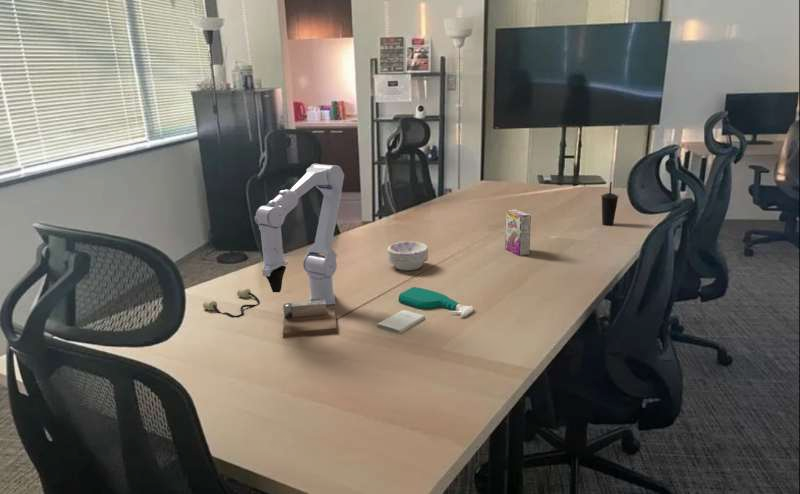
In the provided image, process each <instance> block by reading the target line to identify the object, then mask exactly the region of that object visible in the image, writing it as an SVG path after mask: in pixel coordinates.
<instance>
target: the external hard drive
mask: <svg viewBox="0 0 800 494" xmlns="http://www.w3.org/2000/svg"><path fill="white" fill-rule="evenodd" d="M425 318H426V316H425V315H424V314H421V313H416V312H413V311H409V310H405V309H402V310H400V311H399V312H397V313H395V314H393V315H391V316H390V317H387V318H385V319H384V320H382V321H380V322H378V323H377V324H376V327H377V328H380V329H384V330H387V331H390V332H393V333H396V334H401V333H403V332H404V331H407V330H408V329H410V328H411V327H414V325H416V324H418V323H419V322H422V321H423V320H425Z"/></svg>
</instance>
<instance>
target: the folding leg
mask: <svg viewBox="0 0 800 494" xmlns="http://www.w3.org/2000/svg"><path fill="white" fill-rule="evenodd" d="M282 306H283V307H282V308H283V309H282V310H283V318H284V317H285V318H291V317H304V316H316V315H327V312H326V308H327V305H326V300H318V301H310V300H308V301H298V302H297V301H296V302H287V303H283V305H282Z"/></svg>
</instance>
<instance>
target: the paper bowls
mask: <svg viewBox="0 0 800 494" xmlns="http://www.w3.org/2000/svg"><path fill="white" fill-rule="evenodd" d="M428 260H429V247H428V245H427V244H425V243H422V242H418V241H417V242H416V241H400V242H396V243H392V244H390V245H389V246H388V247H387V261H388V262H389V263H390V264H392V265H393V266H394V268H396V269H397V270H400V271H414V270H418V269H420V268H421V267H423V264H424V263H426V262H427V261H428Z"/></svg>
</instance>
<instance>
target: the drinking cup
mask: <svg viewBox="0 0 800 494" xmlns="http://www.w3.org/2000/svg"><path fill="white" fill-rule="evenodd" d="M612 186H613V185H612V181H610V182H609V192H608V193H603V194H601V196H600V198H601V220H602V221H601V222H602V223H601V224H602V225H603V226H605V227H606V226H614V221H615V217H616V210H617V205H618V201H619V195H617V194H615V193H612Z"/></svg>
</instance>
